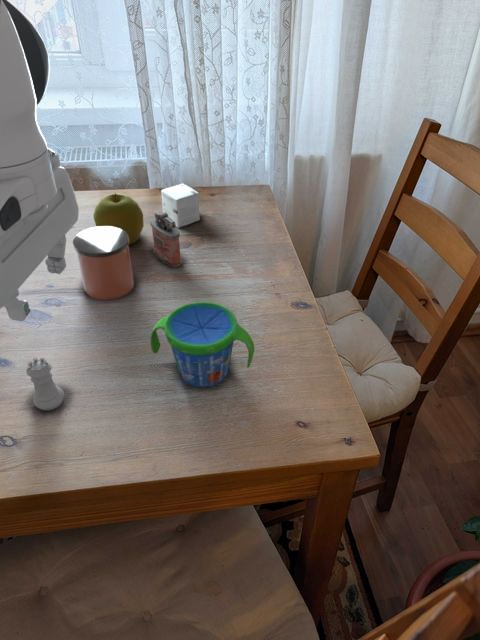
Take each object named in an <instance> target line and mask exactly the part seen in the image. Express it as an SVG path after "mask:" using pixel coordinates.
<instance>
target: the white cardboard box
mask: <svg viewBox="0 0 480 640" xmlns="http://www.w3.org/2000/svg"><path fill="white" fill-rule="evenodd" d="M160 191H161V203H162V213H165V212H166V213H167V214H168V216H169V218H171V219H172V220H174V221H175V225H176V228H177V229H178V228H182V227H185V226H188V225H190V224H193V223H195V222H198V221H200V219H201V218H200V215H201V214H200V192H199V191H196V190H195V189H193V188H192V187H190V186H188V185H187V184H185V183H180V184H177V185H173V186H170V187H167V188H163V189H161V190H160Z"/></svg>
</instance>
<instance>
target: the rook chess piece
mask: <svg viewBox="0 0 480 640" xmlns="http://www.w3.org/2000/svg"><path fill="white" fill-rule="evenodd" d="M27 364H28V365H27V368H26V371H25V372H26V375H27V376H28V377H30V380H31V382H32V383H33V385H34V393H33V394H32V395H33V396H32V403H33V405H34V406H35V408H38V409H39V410H40V411H41V410H42V411H51V410H55V409H57V408H58V407H60V406H61V404H62V403H63V402H64V398H65V392H64V390H63V389H62V388H61V387H59V385H57V384H56V383H55V382H54V379H53V373H52V367H53V366H52V365H51V363H50V362H48V361H47V359H45V358H44V357H40V358H39V359H38V357H36V358H33V361H31V360H30V361H29V362H28V363H27Z"/></svg>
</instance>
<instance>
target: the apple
mask: <svg viewBox="0 0 480 640" xmlns="http://www.w3.org/2000/svg"><path fill="white" fill-rule="evenodd" d="M93 211H94V212H93V215H92V216H93V221H94V225H95V227H99V226H110V227H116V228H119V229H121V230H123V231H125V232H126V233H127V235H128V238H129V244H128V246H129V245H132V244H134V243H136V242H137V241H138V240H139V238H140V236H141V234H142V231H143V229H144V225H145V224H144V212H143V210H142V208H141V207H140V205H139V204H138V202H137V201H135V200H134V199H133V198H132V197H131V196H129V195H128V194H125V193H124V194H123V193H116V192H114V193H109V194H106V195H104V196H103V197H101V199H100V200H98V201H97V203H96V205H95V207H94V210H93Z"/></svg>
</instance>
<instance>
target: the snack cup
mask: <svg viewBox="0 0 480 640" xmlns="http://www.w3.org/2000/svg"><path fill="white" fill-rule="evenodd" d="M159 329H161V330H163V331H164V334H165V338H166V340H167V342H168V344H169V345H170V348H171V351H172V354H173V357H174V361H175V364H176V367H177V371H178V373H179V375H180V377H181V379H182V380H183V381H184V382H185V383H186V384H188V385H191V386H193V387H198V388H208V387H213V386H216V385H218V384H219V383H221V382H222V381H224V379H225V378H226V377H227V375H228V373H229V369H230V363H231V359H232V352H233V347H234V341H240V342H242V343H244V344H245V347H246V349H247V351H248V353H247V354H248V356H247V364H246V368H250V366H251V364H252V361H253V357H254V354H255V344H254V341H253V338H252V337H251V335H250V334H249V332H248V331H247V330H246V329H245V328H243V327H242V326H241V325H240V324H239V323H238V320H237V317H236V316H235V314H234V313H233V311H231V310H230V309H229V308H228V307H225V306H224V305H221V304H219V303H215V302H207V301H198V302H190V303H187V304H184V305H181V306H179V307H177V308H176V309H174V310H173V311H172V312H171V313H169V314H168V315H166V316H164V317H161V318H160V319H159V320H158V321H157V323H156V324H155V326H154V327H153V329H152V331H151V333H150V348H151V351H152V353H153V354H157V353H158V352H159V350H160V348H161V341H160V339H159V336H158V332H157V331H158V330H159Z"/></svg>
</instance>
